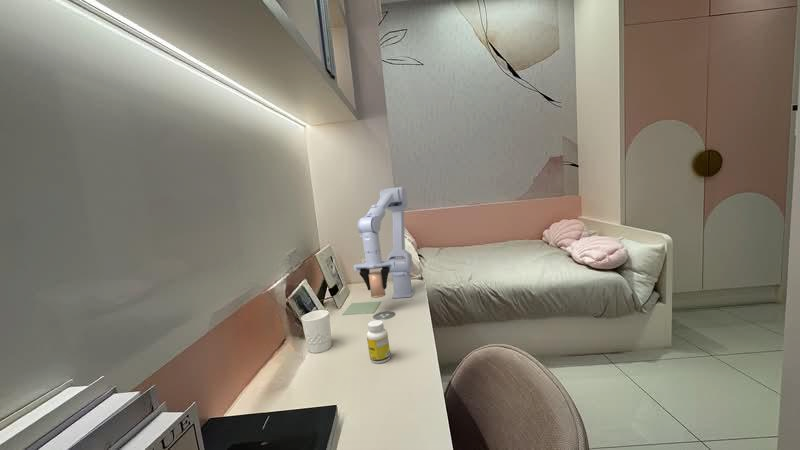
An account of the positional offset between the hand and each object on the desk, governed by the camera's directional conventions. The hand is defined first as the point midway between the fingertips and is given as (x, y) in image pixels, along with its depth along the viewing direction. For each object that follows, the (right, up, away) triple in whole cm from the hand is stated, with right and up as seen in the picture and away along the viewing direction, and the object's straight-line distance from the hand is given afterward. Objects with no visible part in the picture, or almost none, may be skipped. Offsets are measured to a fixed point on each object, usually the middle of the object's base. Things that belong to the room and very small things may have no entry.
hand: (377, 288), depth 123 cm
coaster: (+2, -9, -1) cm, 10 cm away
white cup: (-15, -14, -21) cm, 29 cm away
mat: (-6, -9, +10) cm, 15 cm away
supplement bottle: (+3, -13, -32) cm, 35 cm away
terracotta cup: (0, -2, 0) cm, 2 cm away
